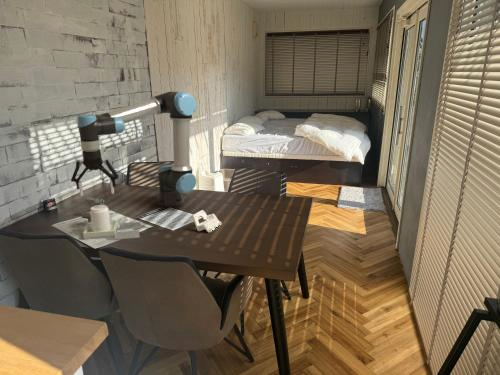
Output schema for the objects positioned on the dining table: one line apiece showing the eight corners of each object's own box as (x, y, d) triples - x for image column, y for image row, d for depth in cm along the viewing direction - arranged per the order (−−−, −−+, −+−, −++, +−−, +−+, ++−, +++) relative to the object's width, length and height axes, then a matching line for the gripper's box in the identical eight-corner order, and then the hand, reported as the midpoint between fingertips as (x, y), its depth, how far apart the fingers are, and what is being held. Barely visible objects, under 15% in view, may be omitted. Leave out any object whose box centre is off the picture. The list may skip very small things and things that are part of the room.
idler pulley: (99, 221, 179) (97, 208, 177) (96, 227, 173) (95, 213, 171) (84, 222, 178) (82, 209, 176) (81, 228, 171) (79, 215, 169)
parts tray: (118, 225, 176) (118, 219, 175) (115, 236, 163) (114, 230, 162) (89, 227, 172) (89, 222, 172) (83, 239, 160) (83, 233, 159)
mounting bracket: (213, 227, 179) (205, 207, 178) (222, 224, 176) (215, 205, 175) (199, 235, 169) (191, 215, 168) (209, 233, 166) (201, 212, 165)
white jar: (100, 235, 162) (97, 211, 159) (89, 231, 166) (85, 208, 162) (114, 229, 169) (111, 206, 165) (103, 225, 173) (100, 203, 169)
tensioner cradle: (141, 227, 174) (140, 221, 173) (139, 237, 162) (138, 231, 162) (120, 228, 171) (119, 223, 170) (116, 239, 160) (116, 233, 159)
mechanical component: (103, 217, 184) (101, 200, 181) (86, 216, 186) (84, 198, 183) (107, 215, 187) (105, 198, 184) (90, 214, 189) (87, 197, 186)
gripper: (121, 146, 162) (126, 189, 168) (63, 149, 156) (70, 193, 163) (119, 150, 155) (124, 194, 161) (58, 152, 149) (66, 198, 156)
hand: (97, 194), depth 162 cm, fingers open, 13 cm apart
